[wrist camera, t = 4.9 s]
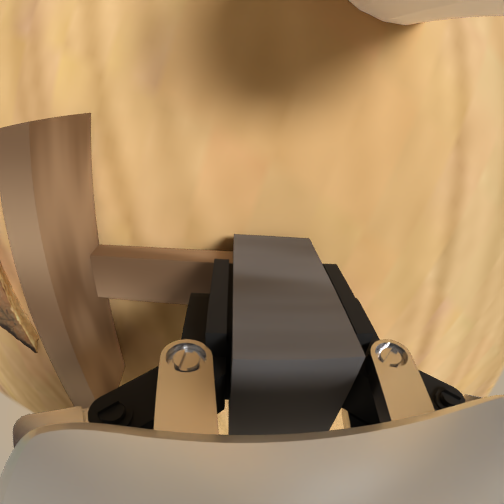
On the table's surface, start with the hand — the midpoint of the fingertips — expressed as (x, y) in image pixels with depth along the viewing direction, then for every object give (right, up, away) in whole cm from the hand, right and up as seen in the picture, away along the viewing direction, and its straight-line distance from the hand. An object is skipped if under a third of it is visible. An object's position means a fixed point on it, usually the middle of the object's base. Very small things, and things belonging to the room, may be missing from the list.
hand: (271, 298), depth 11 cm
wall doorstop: (-4, +1, +1) cm, 4 cm away
